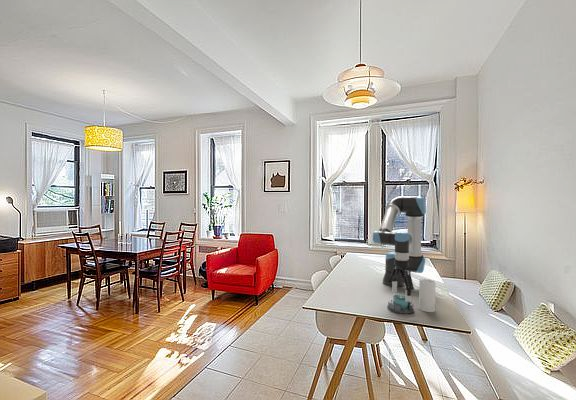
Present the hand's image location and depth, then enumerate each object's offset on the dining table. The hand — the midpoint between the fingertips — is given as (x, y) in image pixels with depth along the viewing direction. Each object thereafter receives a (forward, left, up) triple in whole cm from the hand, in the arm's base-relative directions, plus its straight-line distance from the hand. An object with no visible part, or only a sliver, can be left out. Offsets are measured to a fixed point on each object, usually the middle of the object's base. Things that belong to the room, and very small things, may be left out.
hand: (400, 296), depth 162 cm
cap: (0, 0, -6) cm, 6 cm away
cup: (-15, +2, -7) cm, 16 cm away
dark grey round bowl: (0, 0, -7) cm, 7 cm away
